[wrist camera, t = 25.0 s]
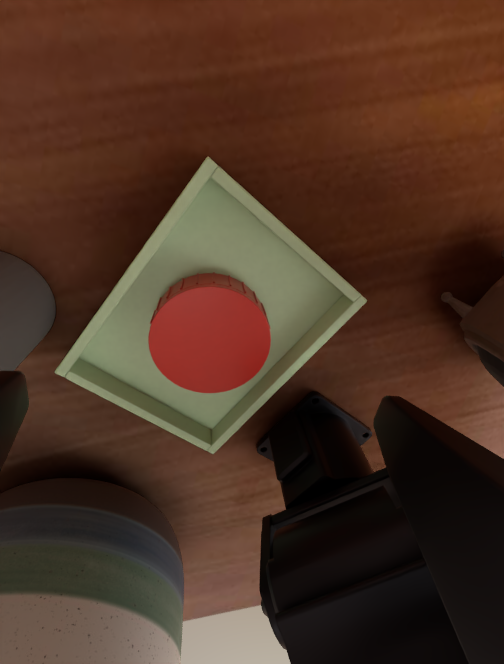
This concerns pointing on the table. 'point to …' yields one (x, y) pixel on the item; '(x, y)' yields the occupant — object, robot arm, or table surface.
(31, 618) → the vase
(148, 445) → the table surface
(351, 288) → the tray
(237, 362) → the jar lid
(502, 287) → the alarm clock
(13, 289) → the bottle
